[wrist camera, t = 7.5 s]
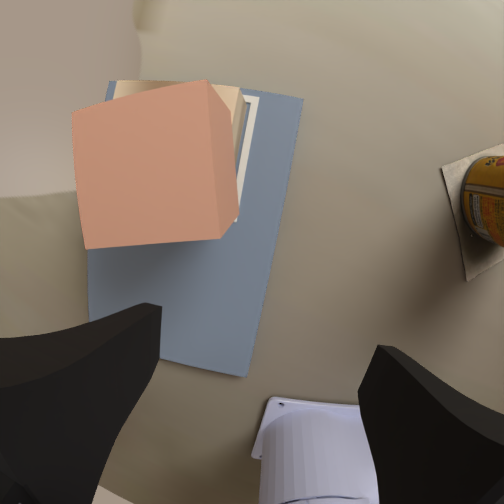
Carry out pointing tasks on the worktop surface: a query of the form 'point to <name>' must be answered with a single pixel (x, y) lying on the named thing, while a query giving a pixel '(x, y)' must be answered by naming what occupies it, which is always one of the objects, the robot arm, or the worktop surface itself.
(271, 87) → the worktop surface
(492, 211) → the condiment
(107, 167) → the terracotta block
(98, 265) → the board
